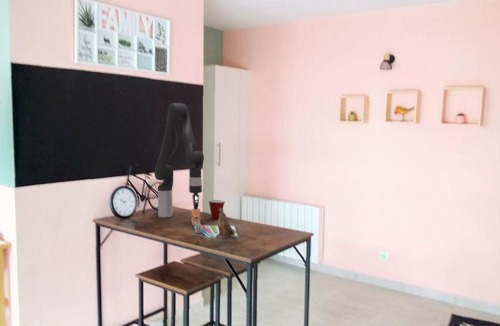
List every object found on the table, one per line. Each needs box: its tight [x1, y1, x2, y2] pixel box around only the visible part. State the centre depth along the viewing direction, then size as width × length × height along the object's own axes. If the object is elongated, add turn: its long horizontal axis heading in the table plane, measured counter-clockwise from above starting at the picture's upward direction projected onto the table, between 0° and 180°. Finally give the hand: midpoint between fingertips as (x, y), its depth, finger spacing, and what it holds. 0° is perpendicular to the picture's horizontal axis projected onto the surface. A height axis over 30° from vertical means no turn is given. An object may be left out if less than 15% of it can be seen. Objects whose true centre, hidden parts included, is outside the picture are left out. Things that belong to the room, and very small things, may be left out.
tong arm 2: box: [196, 217, 202, 234], centre depth 244 cm, size 18×1×4 cm, turn 11°
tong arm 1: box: [193, 218, 199, 234], centre depth 244 cm, size 18×1×4 cm, turn 11°
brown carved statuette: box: [215, 208, 235, 240], centre depth 227 cm, size 12×6×18 cm, turn 142°
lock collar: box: [191, 208, 201, 226], centre depth 252 cm, size 3×5×9 cm, turn 101°
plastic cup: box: [208, 199, 226, 221], centre depth 269 cm, size 11×11×12 cm
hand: (195, 213), depth 256 cm, fingers closed
